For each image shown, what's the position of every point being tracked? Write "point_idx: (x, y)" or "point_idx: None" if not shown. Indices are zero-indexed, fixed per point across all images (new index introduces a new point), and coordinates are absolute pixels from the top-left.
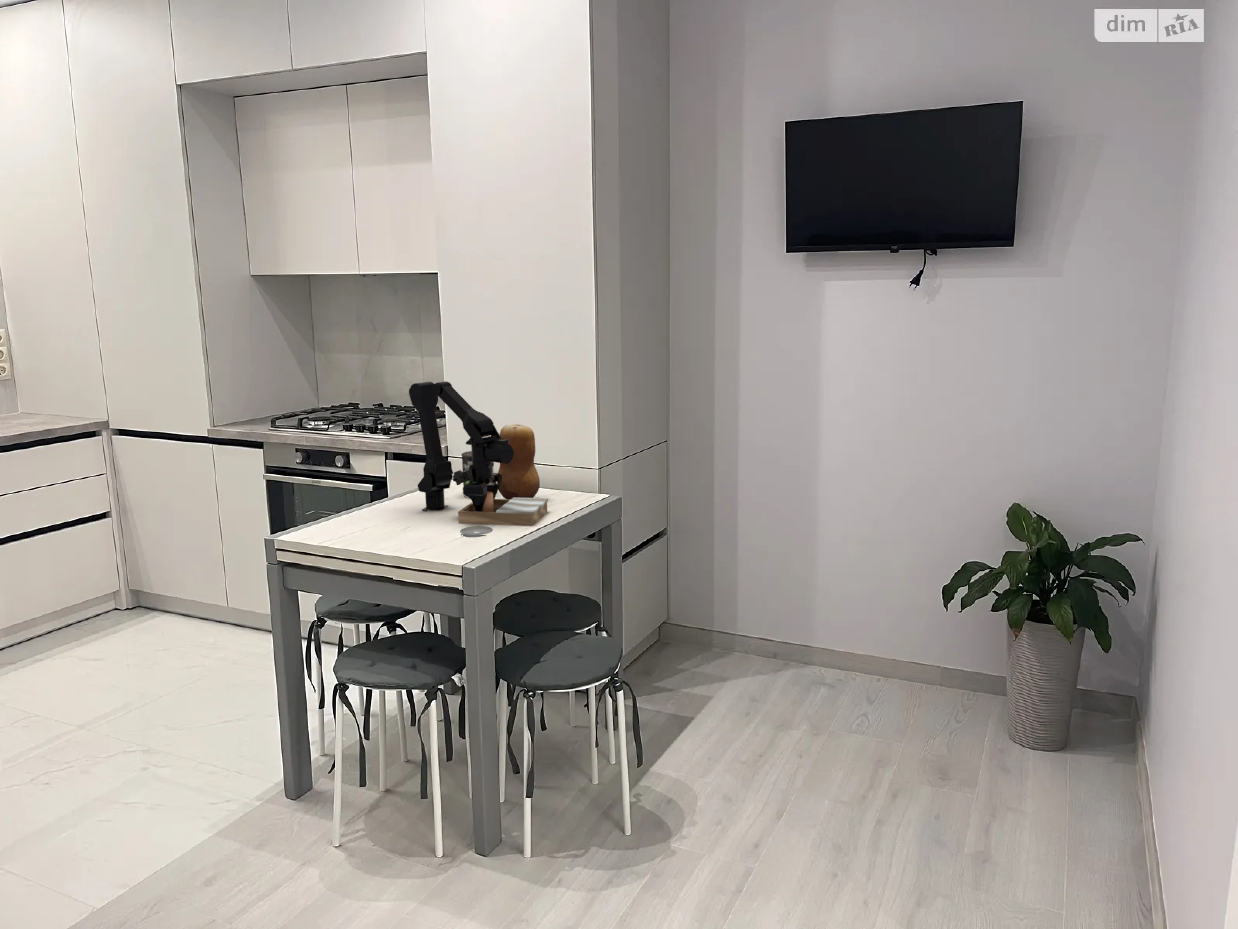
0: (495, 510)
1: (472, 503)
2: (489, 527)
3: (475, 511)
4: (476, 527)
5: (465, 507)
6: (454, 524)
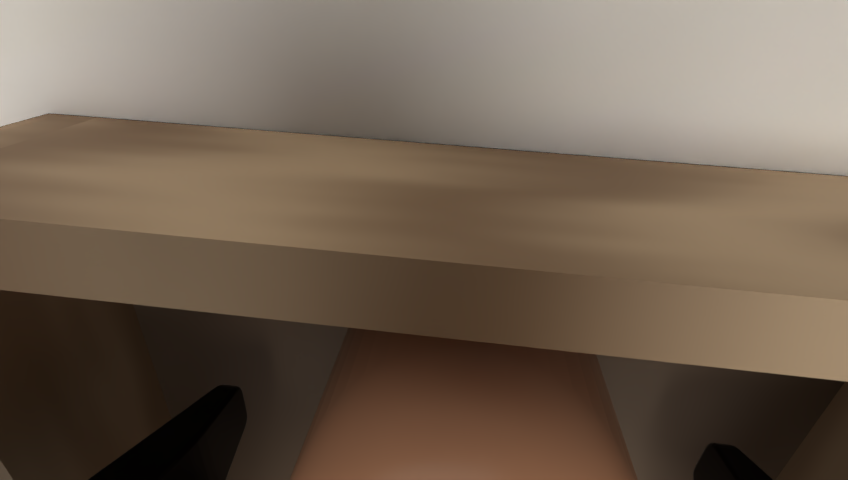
0: (800, 446)
1: (672, 344)
2: None
3: (5, 475)
4: None
5: (205, 266)
6: (59, 25)
